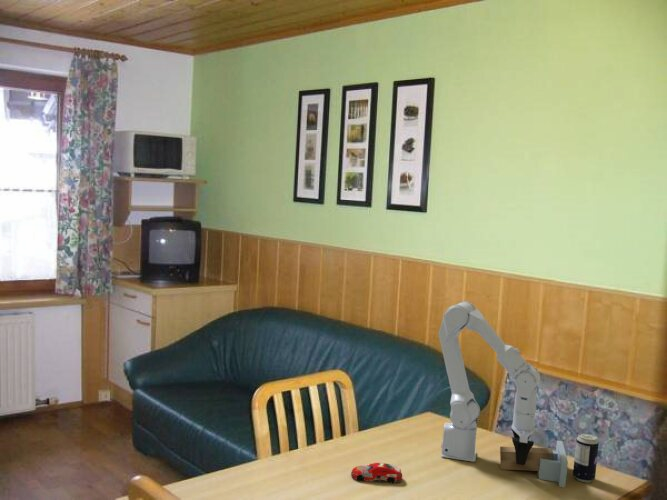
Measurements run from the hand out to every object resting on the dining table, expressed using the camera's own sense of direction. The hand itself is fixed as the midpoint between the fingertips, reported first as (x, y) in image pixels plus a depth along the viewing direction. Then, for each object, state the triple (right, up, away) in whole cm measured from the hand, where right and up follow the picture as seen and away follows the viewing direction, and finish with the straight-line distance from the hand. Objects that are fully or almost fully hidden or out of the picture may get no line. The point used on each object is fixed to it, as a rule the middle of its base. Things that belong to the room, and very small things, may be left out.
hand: (520, 459), depth 194 cm
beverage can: (+16, -5, -4) cm, 17 cm away
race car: (-40, -2, -12) cm, 42 cm away
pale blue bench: (+8, -4, -2) cm, 9 cm away
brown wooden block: (+2, -2, 0) cm, 3 cm away
